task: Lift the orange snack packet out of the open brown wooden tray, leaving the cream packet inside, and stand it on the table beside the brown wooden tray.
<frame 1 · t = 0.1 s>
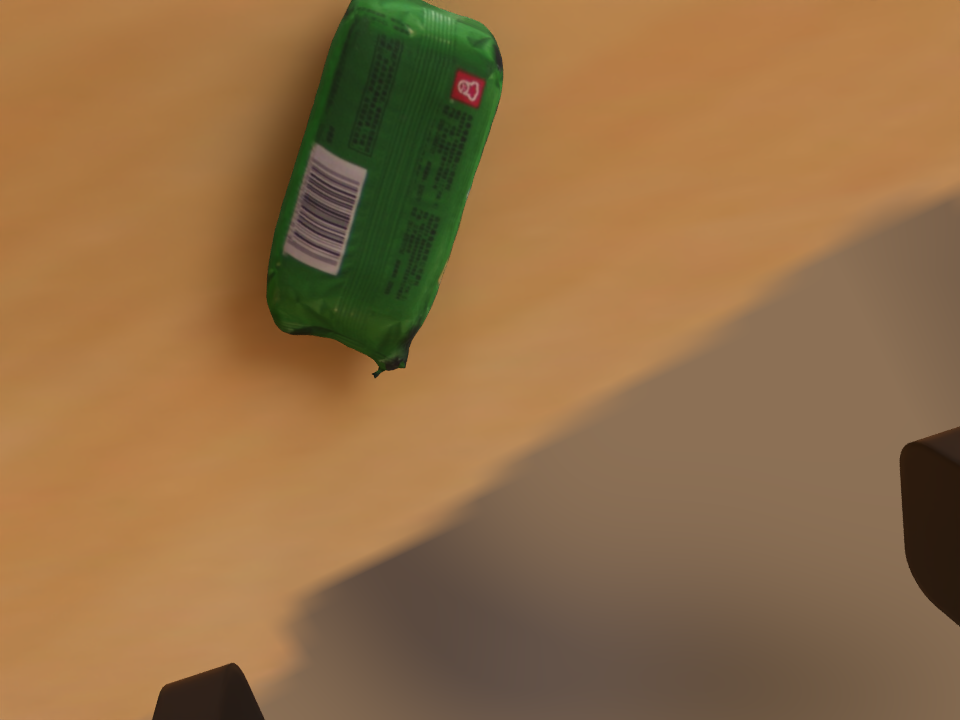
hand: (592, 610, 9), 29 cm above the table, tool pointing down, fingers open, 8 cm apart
snack package: (377, 176, 36), on the table
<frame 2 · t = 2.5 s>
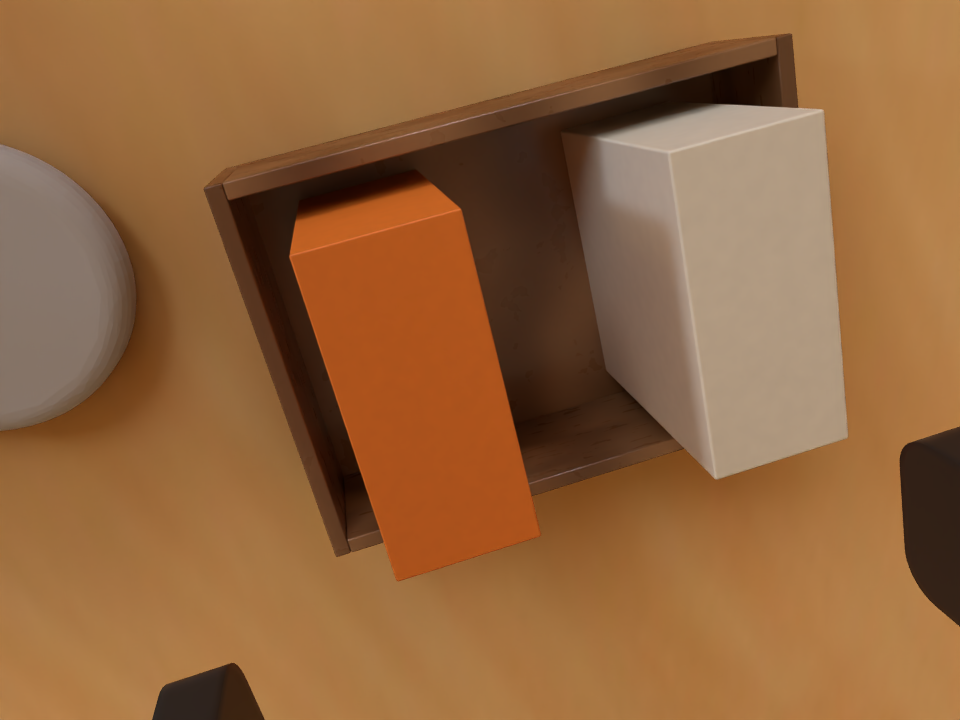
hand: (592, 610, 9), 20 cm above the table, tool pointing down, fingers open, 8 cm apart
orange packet: (394, 311, 28), resting on brown wooden tray
cream packet: (636, 242, 29), resting on brown wooden tray
brown wooden tray: (514, 273, 29), on the table
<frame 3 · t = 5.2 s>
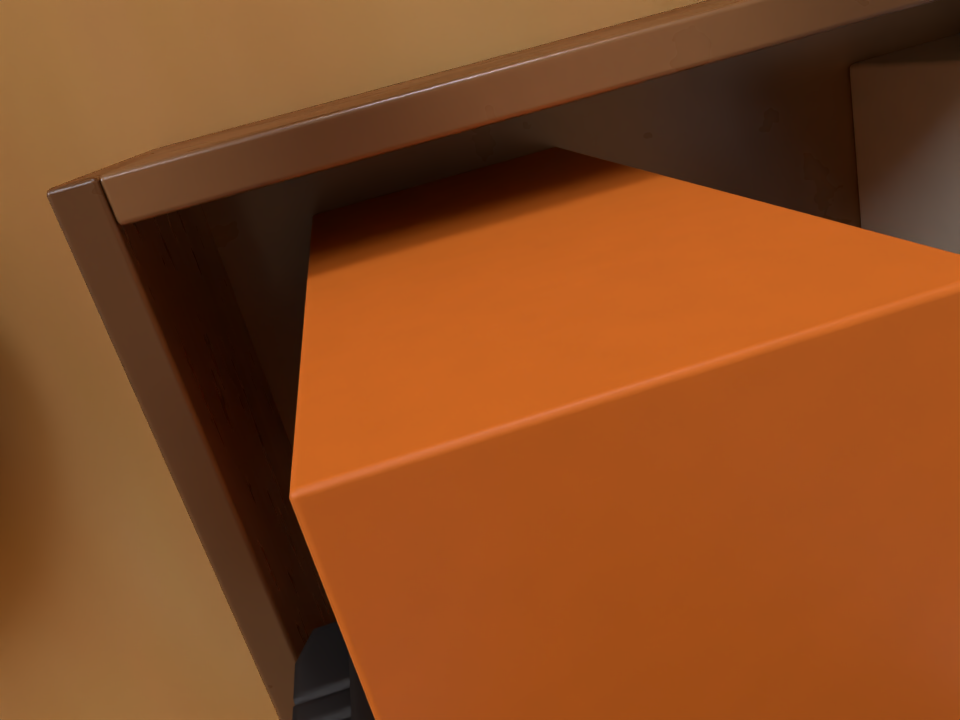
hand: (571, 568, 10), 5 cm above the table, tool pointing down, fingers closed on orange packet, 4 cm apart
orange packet: (502, 431, 14), resting on brown wooden tray, touching gripper
brown wooden tray: (726, 349, 15), on the table
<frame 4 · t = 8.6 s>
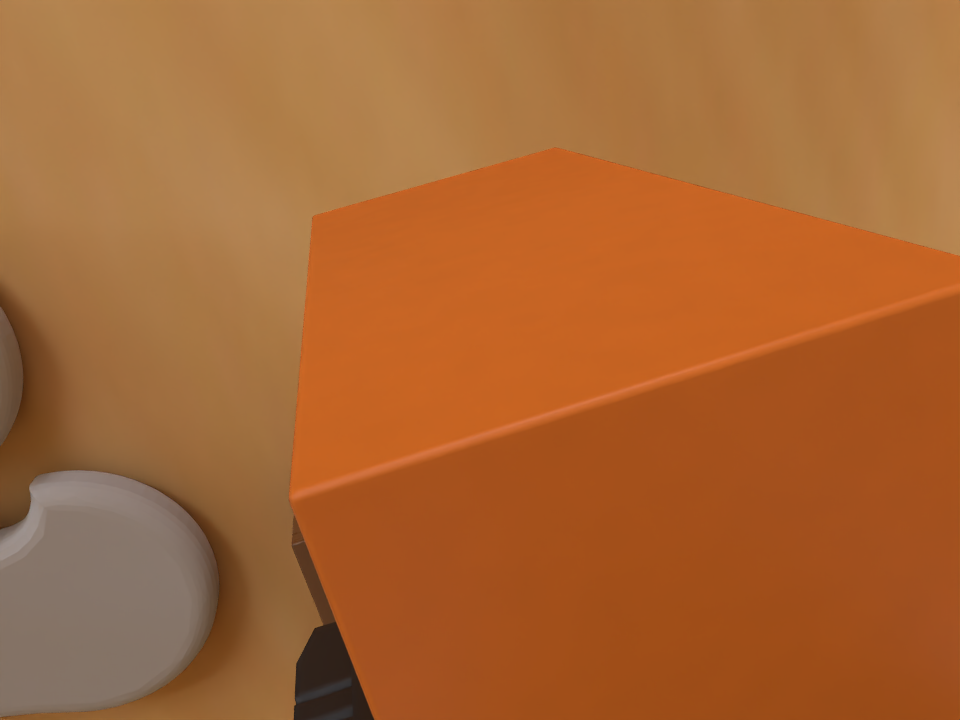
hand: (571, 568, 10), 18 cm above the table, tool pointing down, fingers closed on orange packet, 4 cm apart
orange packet: (503, 432, 14), point 14 cm above the table, touching gripper
brown wooden tray: (555, 534, 32), on the table
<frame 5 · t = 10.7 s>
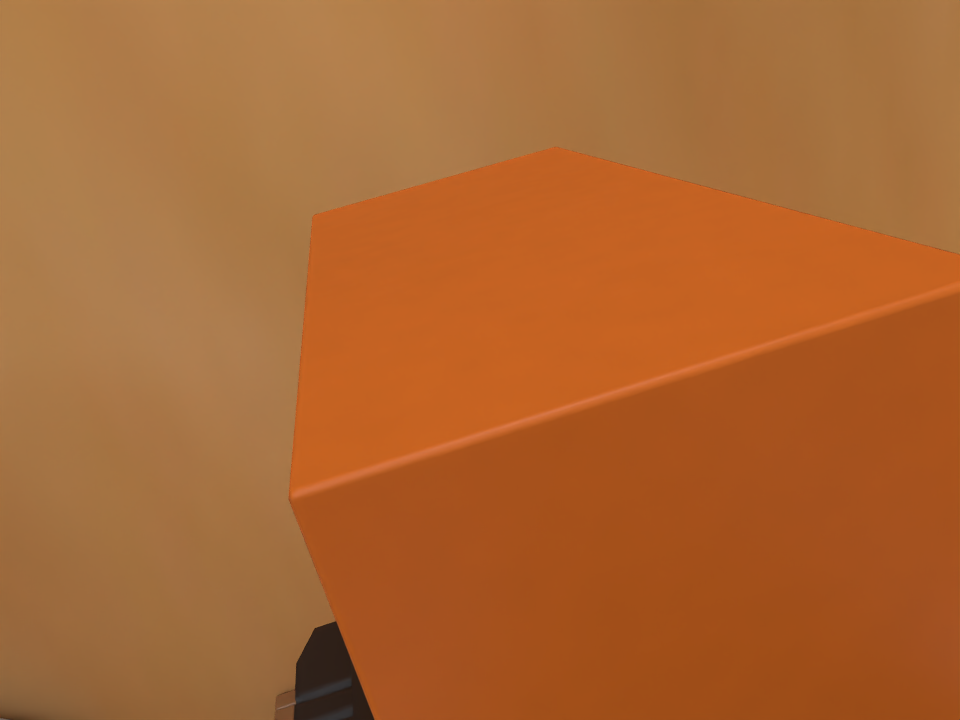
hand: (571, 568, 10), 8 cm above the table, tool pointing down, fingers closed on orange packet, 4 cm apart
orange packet: (503, 431, 14), point 4 cm above the table, touching gripper
when the fingers open (4 cm above the table, at t = 12.1 s): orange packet stays where it is, on the table.
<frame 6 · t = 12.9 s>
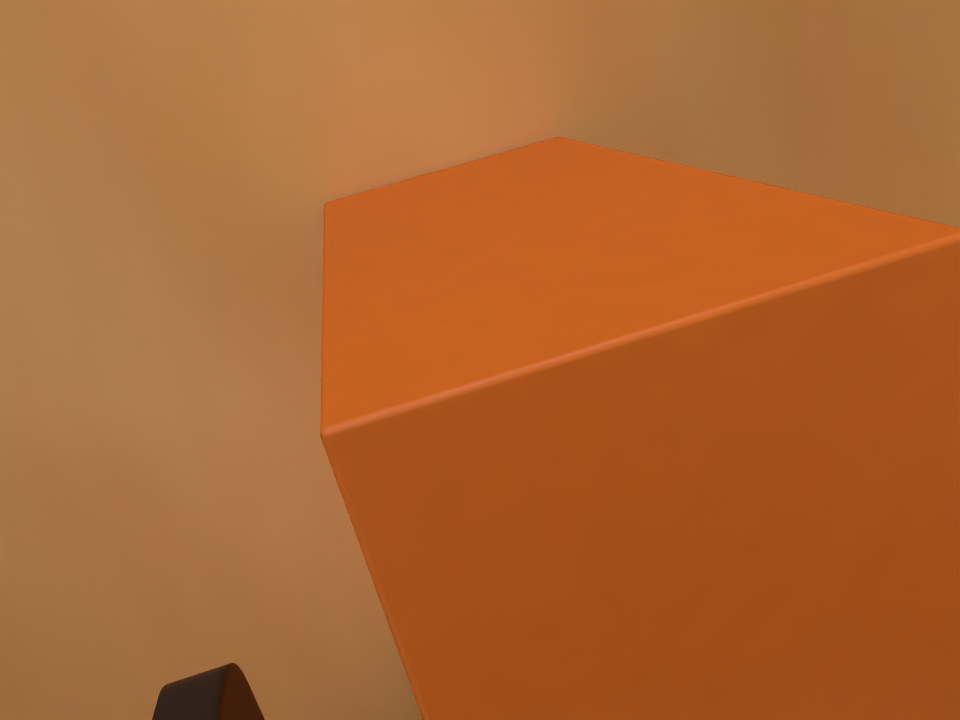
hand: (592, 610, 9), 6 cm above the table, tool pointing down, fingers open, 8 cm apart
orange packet: (508, 414, 15), on the table
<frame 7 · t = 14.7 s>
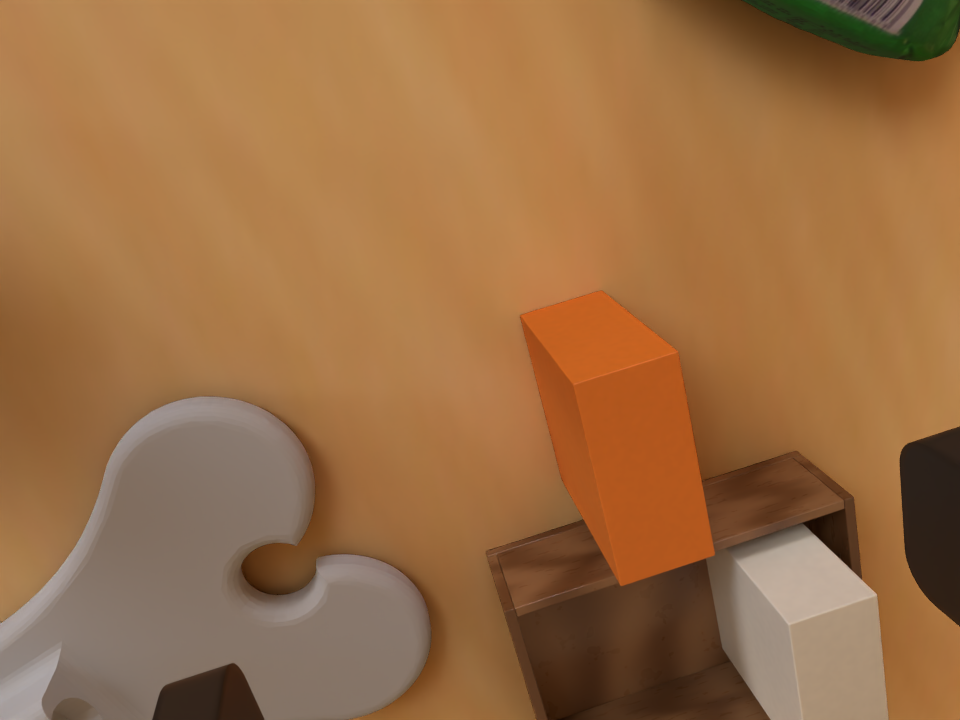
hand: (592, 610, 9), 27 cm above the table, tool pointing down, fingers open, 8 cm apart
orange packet: (581, 388, 38), on the table
cream packet: (744, 572, 43), resting on brown wooden tray
holder: (68, 688, 39), on the table
brown wooden tray: (662, 592, 43), on the table
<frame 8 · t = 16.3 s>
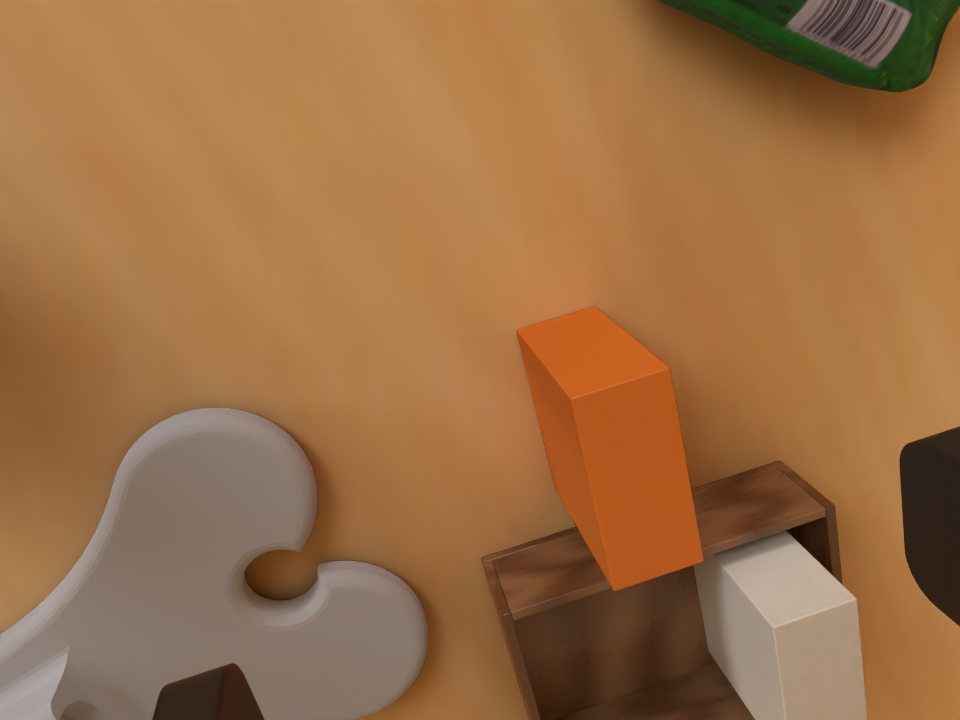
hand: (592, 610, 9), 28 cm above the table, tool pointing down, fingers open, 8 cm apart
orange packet: (574, 400, 40), on the table
cream packet: (730, 577, 45), resting on brown wooden tray
holder: (72, 692, 40), on the table
brown wooden tray: (651, 597, 45), on the table
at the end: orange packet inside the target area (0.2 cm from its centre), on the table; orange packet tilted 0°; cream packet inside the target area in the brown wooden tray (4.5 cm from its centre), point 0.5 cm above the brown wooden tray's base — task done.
